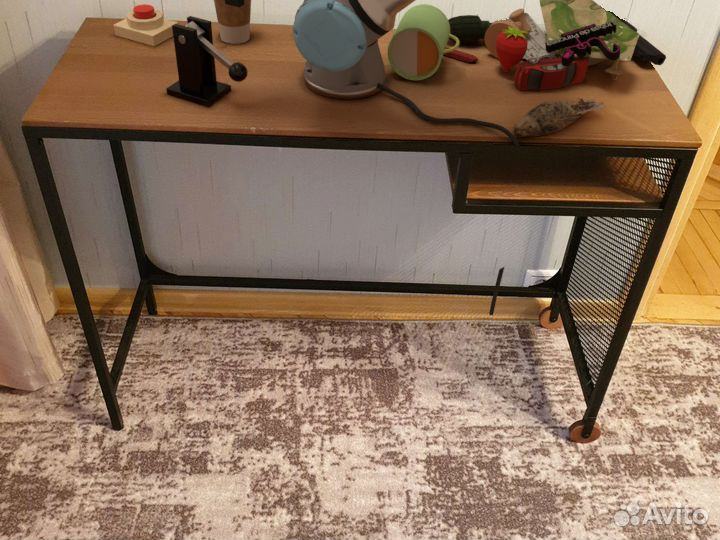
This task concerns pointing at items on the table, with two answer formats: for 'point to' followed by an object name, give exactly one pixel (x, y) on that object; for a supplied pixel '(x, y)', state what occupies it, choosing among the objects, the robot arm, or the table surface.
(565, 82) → the toy car
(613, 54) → the logo
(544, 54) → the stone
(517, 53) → the strawberry
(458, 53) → the utility knife
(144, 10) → the stop button
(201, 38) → the press lever
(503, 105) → the table surface
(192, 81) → the lever bracket
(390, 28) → the robot arm
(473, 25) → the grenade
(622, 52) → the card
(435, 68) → the mug
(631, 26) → the handgun
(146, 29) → the button housing
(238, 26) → the coffee cup
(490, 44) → the door knob
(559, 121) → the bird model
